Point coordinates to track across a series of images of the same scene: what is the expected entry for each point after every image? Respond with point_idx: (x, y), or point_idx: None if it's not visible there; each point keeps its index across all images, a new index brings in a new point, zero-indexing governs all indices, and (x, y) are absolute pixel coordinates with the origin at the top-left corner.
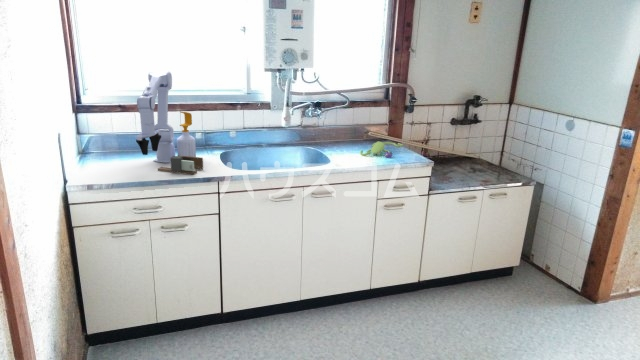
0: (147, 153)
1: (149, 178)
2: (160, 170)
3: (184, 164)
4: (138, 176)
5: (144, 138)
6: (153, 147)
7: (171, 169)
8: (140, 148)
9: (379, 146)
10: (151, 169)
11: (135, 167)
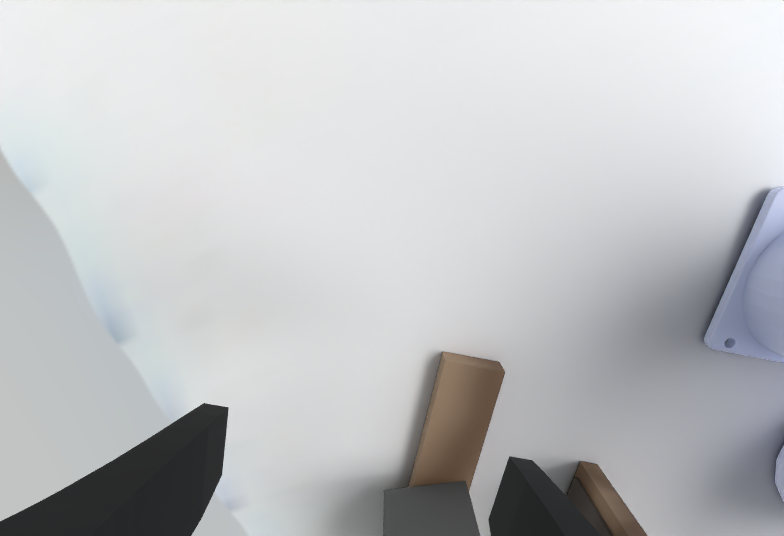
0: (202, 500)
1: (210, 368)
2: (438, 376)
3: None
4: (237, 258)
5: None
6: (529, 532)
7: (384, 503)
8: (79, 480)
9: None
10: (472, 282)
11: (528, 91)
